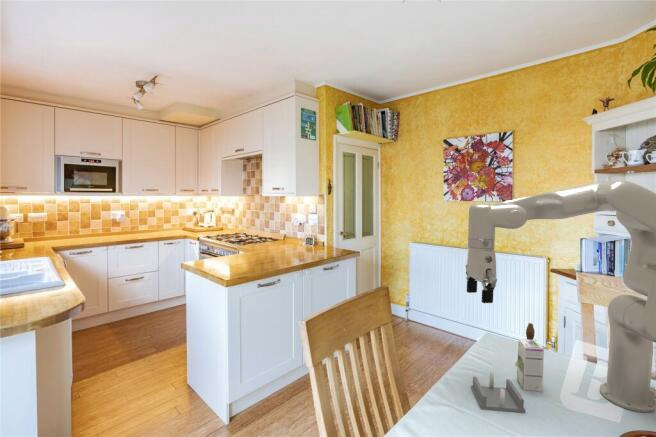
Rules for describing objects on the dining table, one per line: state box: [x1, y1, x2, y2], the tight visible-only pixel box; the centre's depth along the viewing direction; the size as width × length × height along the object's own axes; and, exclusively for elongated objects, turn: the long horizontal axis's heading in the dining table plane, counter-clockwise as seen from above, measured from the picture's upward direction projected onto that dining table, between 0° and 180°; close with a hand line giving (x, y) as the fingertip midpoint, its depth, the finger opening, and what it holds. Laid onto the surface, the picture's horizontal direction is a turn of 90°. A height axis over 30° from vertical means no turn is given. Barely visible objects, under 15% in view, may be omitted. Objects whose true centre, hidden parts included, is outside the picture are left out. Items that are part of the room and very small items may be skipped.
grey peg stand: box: [470, 371, 526, 414], centre depth 98 cm, size 12×10×6 cm
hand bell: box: [515, 322, 535, 367], centre depth 115 cm, size 8×8×16 cm
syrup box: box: [516, 338, 545, 393], centre depth 104 cm, size 6×6×14 cm
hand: (479, 297), depth 102 cm, fingers open, 9 cm apart
